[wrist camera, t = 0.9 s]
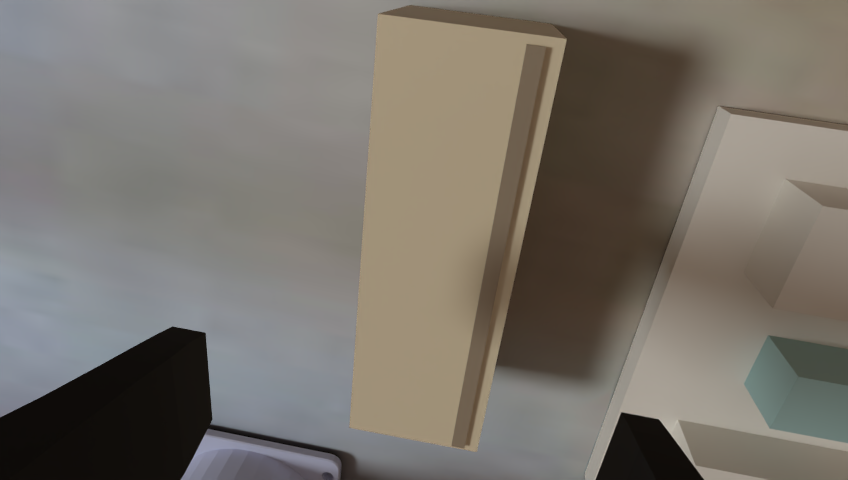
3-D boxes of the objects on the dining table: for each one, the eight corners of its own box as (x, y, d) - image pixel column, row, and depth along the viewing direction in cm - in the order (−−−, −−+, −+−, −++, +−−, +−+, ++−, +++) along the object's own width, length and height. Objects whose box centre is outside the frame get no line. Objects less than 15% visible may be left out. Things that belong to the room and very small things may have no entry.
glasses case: (482, 359, 21) (476, 456, 16) (379, 341, 21) (347, 431, 17) (550, 22, 15) (567, 40, 11) (411, 4, 15) (376, 14, 11)
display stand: (840, 524, 21) (887, 603, 19) (584, 473, 22) (595, 542, 19) (1098, 161, 15) (1231, 203, 12) (718, 106, 15) (762, 133, 13)
